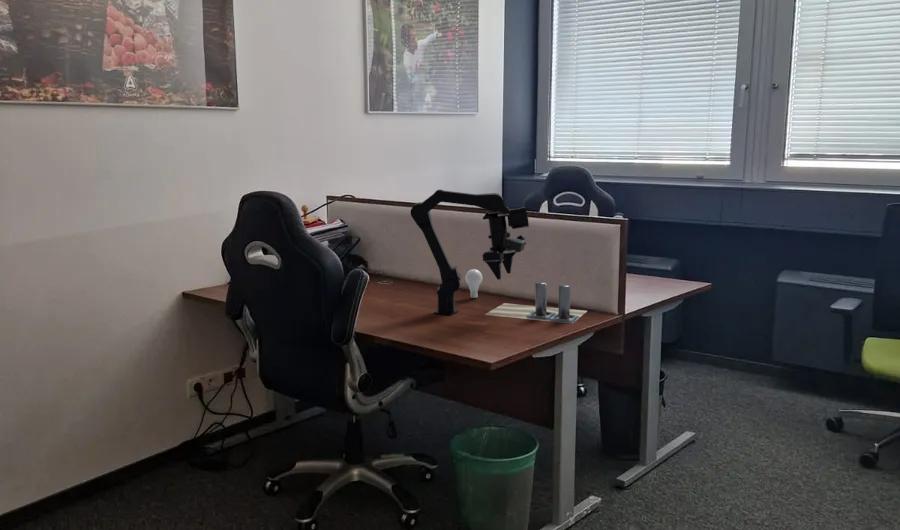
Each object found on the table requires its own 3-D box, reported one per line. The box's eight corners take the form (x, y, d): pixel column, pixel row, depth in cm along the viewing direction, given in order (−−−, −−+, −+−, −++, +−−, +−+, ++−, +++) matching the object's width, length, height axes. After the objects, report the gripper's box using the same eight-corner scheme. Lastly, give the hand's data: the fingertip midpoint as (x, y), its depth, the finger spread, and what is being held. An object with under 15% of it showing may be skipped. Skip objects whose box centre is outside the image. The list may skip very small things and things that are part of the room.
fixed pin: (567, 321, 239) (568, 287, 237) (556, 320, 241) (557, 286, 239) (571, 318, 242) (571, 285, 240) (560, 317, 244) (560, 284, 242)
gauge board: (572, 327, 237) (572, 320, 236) (484, 318, 249) (484, 312, 249) (587, 314, 253) (587, 308, 252) (504, 306, 265) (504, 301, 265)
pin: (542, 318, 243) (542, 284, 241) (533, 316, 246) (533, 283, 244) (548, 315, 246) (548, 282, 244) (539, 314, 248) (539, 281, 246)
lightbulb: (482, 300, 275) (482, 270, 273) (465, 300, 275) (465, 270, 274) (482, 296, 282) (482, 267, 280) (465, 296, 282) (465, 267, 280)
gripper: (510, 234, 239) (516, 281, 242) (530, 224, 256) (535, 269, 258) (479, 236, 244) (485, 283, 247) (500, 227, 261) (505, 270, 263)
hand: (504, 276), depth 254 cm, fingers open, 9 cm apart
